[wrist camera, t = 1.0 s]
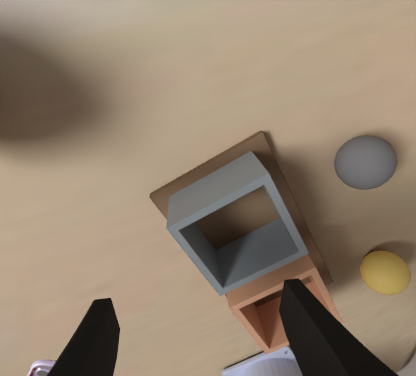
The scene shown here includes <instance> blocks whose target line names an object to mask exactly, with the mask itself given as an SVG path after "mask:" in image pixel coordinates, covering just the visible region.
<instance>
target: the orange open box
mask: <svg viewBox="0 0 416 376" xmlns="http://www.w3.org/2000/svg"><path fill="white" fill-rule="evenodd" d="M308 276H309V277H310V279H311V281H312V282H310V283H308V284H306V285H305V286H306V287H307V288H308V289H309V290H310V291H311V292H312V294H313V295H314V296H315V297H316V298H317V299H318V300H319V301H320V302H321V303H322V304H323V306H324V307H325V308H326V309H327V310H328V311H329V312H330V313H331V314H332V315H333V316H334V317H335V318H336V319H337V320H338V321H339V322H340V323H341V322H343V321H342V319H341V317H340V315H339V313H338V311H337V309H336V307H335V305H334V303H333V301H332V299H331V297H330V295H329V293H328V291H327V289H326V287H325V285H324V283H323V281H322V279H321V277H320V275H319V273H318V271H317V269H316V267H315V265H314V264H313V262H312V261H311V259H310V258H309V256H308V255H307V254H306V255H304V256H302V257H300V258H298V259H296V260H294V261H292V262H290V263H288V264H286V265H284V266H282V267H279V268H277V269H275V270H273V271H271V272H269V273H267V274H265V275H263V276H261V277H259V278H257V279H255V280H252V281H250V282H248V283H246V284H244V285H242V286H240V287H238V288H236V289H234V290H232V291H230V292H228V293H227V299H228V304H229V308H230V309H231V311H232V312H233V313H234V314H235V316H236V317H237V318H238V319H239V321H240V322H241V323H242V325H243V326H244V327H245V328H246V330H247V331H248V332H249V333H250V335H251V336H252V337H253V338H254V340H255V341H256V342H257V343H258V345H259V346H260V347H261V349H262V350H263V351H264V352H265V354H266V355H267V354H269V353H272V352H274V351H276V350H279V349H281V348H283V347H286V346H288V345H290V344H289V342H288V339H287V337H286V334H285V330H284V327H283V324H282V320H281V317H280V313H279V306H280V301H281V296H280V297H278V298H276V299H274V300H271V301H269V302H267V303H265V304H263V305H261V306H259V307H256V306H255V304H254V303H253V302H255V301H257V300H259V299H261V298H263V297H265V296H268V295H270V294H272V293H274V292H276V291H278V290H280V289H283V285H284V280H287V279H296V278H299V279H300V280H302V279H304V278H306V277H308Z"/></svg>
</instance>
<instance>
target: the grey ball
mask: <svg viewBox="0 0 416 376" xmlns="http://www.w3.org/2000/svg"><path fill="white" fill-rule="evenodd" d="M396 165H397V158H396V154H395V151H394V149H393V148H392V147H391V145H390V144H389V143H387V142H386V141H385V140H383V139H381V138H378V137H375V136H360V137H356V138H353V139H351V140H349V141H348V142H346V143H345V144H344V145H343V146H342V147H341V148H340V149H339V151H338V152H337V155H336V157H335V170H336V173H337V175H338V177H339V178H340V179H341V180H342V181H343V182H344V183H345V184H346V185H348V186H350V187H353V188H356V189H372V188H376V187H379V186H381V185H382V184H384V183H386V182H387V181H388V180H389V179H390V178H391V177H392V175H393V174H394V172H395V169H396Z"/></svg>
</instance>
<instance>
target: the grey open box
mask: <svg viewBox="0 0 416 376" xmlns="http://www.w3.org/2000/svg"><path fill="white" fill-rule="evenodd" d="M261 186H262V188H263V190H264V192H265V194H266V196H267V198H268V199H269V201H270V203H271V205H272V207H273V209H274V211H275V213H276V215H277V217H278V219H276V220H274V221H272V222H270V223H269V224H267V225H265V226H263V227H261V228H259V229H257V230H255V231H253V232H251V233H249V234H247V235H245V236H243V237H241V238H239V239H237V240H235V241H233V242H231V243H229V244H227V245H225V246H223V247H222V248H220V249H218V250H215V248H214V247H213V246H212V244H211V243H210V241H209V240H208V239H207V237H206V236H205V234H204V233H203V232H202V230H201V229H200V227H199V226H198V225H197V223H196V222H195V221H197V220H199V219H201V218H203V217H205V216H206V215H208V214H210V213H212V212H214V211H216V210H218V209H219V208H221V207H223V206H225V205H227V204H229V203H231V202H233V201H234V200H236V199H238V198H240V197H242V196H244V195H246V194H247V193H249V192H251V191H253V190H255V189H257V188H259V187H261ZM166 229H167V230H168V231H169V232H170V234H171V235H172V236H173V237H174V239H175V240H176V241H177V242H178V244H179V245H180V246H181V248H182V249H183V250H184V251H185V253H186V254H187V255H188V256H189V258H190V259H191V260H192V261H193V263H194V264H195V265H196V266H197V268H198V269H199V270H200V271H201V273H202V274H203V275H204V277H205V278H206V279H207V280H208V282H209V283H210V284H211V285H212V287H213V288H214V289H215V290H216V292H217V293H218V294H219V295H220V296H221V295H223V294H225V293H228V292H230V291H232V290H234V289H236V288H238V287H240V286H242V285H244V284H246V283H248V282H250V281H252V280H255V279H257V278H259V277H261V276H263V275H265V274H267V273H269V272H271V271H273V270H275V269H277V268H279V267H282V266H284V265H286V264H288V263H290V262H292V261H294V260H296V259H298V258H300V257H302V256H304V255H306V254H309V253H308V251H307V249H306V247H305V245H304V243H303V241H302V239H301V237H300V235H299V232H298V230H297V228H296V226H295V224H294V222H293V220H292V218H291V216H290V214H289V212H288V210H287V208H286V206H285V204H284V202H283V200H282V198H281V196H280V194H279V192H278V190H277V188H276V186H275V184H274V182H273V180H272V178H271V176H270V174H269V173H268V171H267V170H266V169H265V167H264V166H263V165H262V164H261V162H260V161H259V160H258V159H257V157H256V156H255V155H254V154H253V152H252V151H250V152H248V153H246V154H244V155H243V156H241V157H239V158H237V159H236V160H234V161H232V162H230V163H228V164H227V165H225V166H223V167H221V168H219V169H218V170H216V171H214V172H212V173H210V174H209V175H207V176H205V177H203V178H202V179H200V180H198V181H196V182H194V183H193V184H191V185H189V186H187V187H185V188H184V189H182V190H180V191H178V192H177V193H175V194H173V195H171V196H169V204H168V215H167V227H166Z"/></svg>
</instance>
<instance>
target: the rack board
mask: <svg viewBox="0 0 416 376" xmlns="http://www.w3.org/2000/svg"><path fill="white" fill-rule="evenodd" d="M250 151H252V152H253V154H254V155H255V156H256V157H257V159H258V160H259V161H260V162H261V164H262V165H263V166H264V167H265V169H266V170H267V171H268V173H269V174H270V176H271V178H272V180H273V182H274V184H275V186H276V188H277V190H278V192H279V194H280V196H281V198H282V200H283V202H284V204H285V206H286V208H287V210H288V212H289V214H290V216H291V218H292V220H293V222H294V224H295V226H296V228H297V230H298V232H299V235H300V237H301V239H302V241H303V243H304V245H305V247H306V249H307V251H308V253H309V254H307V255H308V256H309V258H310V259H311V261H312V262H313V264H314V265H315V267H316V269H317V271H318V273H319V275H320V277H321V279H322V281H323V283H324V285H327V284H330V283H332V282H333V280H332V278H331V276H330V274H329V272H328V270H327V268H326V265H325V263H324V261H323V259H322V257H321V255H320V253H319V251H318V249H317V246H316V244H315V242H314V240H313V238H312V236H311V234H310V232H309V229H308V227H307V225H306V223H305V221H304V219H303V217H302V215H301V213H300V210H299V208H298V206H297V204H296V202H295V200H294V198H293V196H292V193H291V191H290V189H289V187H288V185H287V183H286V181H285V179H284V177H283V174H282V172H281V170H280V168H279V166H278V164H277V162H276V160H275V157H274V155H273V153H272V151H271V149H270V147H269V145H268V143H267V141H266V138H265V136H264V134H263V133H262V132H261V131H259V132H258V133H256V134H254V135H252V136H250V137H249V138H247V139H245V140H243V141H242V142H240V143H238V144H236V145H235V146H233V147H231V148H229V149H228V150H226V151H224V152H222V153H221V154H219V155H217V156H215V157H214V158H212V159H210V160H208V161H206V162H205V163H203V164H201V165H199V166H198V167H196V168H194V169H192V170H191V171H189V172H187V173H185V174H184V175H182V176H180V177H178V178H177V179H175V180H173V181H171V182H170V183H168V184H166V185H164V186H162V187H161V188H159V189H157V190H155V191H154V192H152V193H150V199H151V200H152V201H153V202H154V204H155V205H156V206H157V208H158V209H159V210H160V211H161V213H162V214H163V215H164V217H165V218H166V219H167V215H168V204H169V196H171V195H173V194H175V193H177V192H178V191H180V190H182V189H184V188H185V187H187V186H189V185H191V184H193V183H194V182H196V181H198V180H200V179H202V178H203V177H205V176H207V175H209V174H210V173H212V172H214V171H216V170H218V169H219V168H221V167H223V166H225V165H227V164H228V163H230V162H232V161H234V160H236V159H237V158H239V157H241V156H243V155H244V154H246V153H248V152H250ZM276 219H278V217H277V215H276V213H275V211H274V209H273V207H272V205H271V203H270V201H269V199H268V198H267V196H266V194H265V192H264V190H263V188H262V186H261V187H259V188H257V189H255V190H253V191H251V192H249V193H247V194H246V195H244V196H242V197H240V198H238V199H236V200H234V201H233V202H231V203H229V204H227V205H225V206H223V207H221V208H219V209H218V210H216V211H214V212H212V213H210V214H208V215H206V216H205V217H203V218H201V219H199V220H197V221H195V222H196V223H197V225H198V226H199V227H200V229H201V230H202V232H203V233H204V234H205V236H206V237H207V239H208V240H209V241H210V243H211V244H212V246H213V247H214V248H215V250H218V249H220V248H222V247H223V246H225V245H227V244H229V243H231V242H233V241H235V240H237V239H239V238H241V237H243V236H245V235H247V234H249V233H251V232H253V231H255V230H257V229H259V228H261V227H263V226H265V225H267V224H269V223H270V222H272V221H274V220H276ZM301 281H302V282H303V284H304V285H306V284H308V283H310V282H312V281H311V279H310V277H309V276H308V277H306V278H304V279H302V280H301ZM282 290H283V289H280V290H278V291H276V292H274V293H272V294H270V295H268V296H265V297H263V298H261V299H259V300H257V301H255V302H253V303H254V304H255V306H256V307H259V306H261V305H263V304H265V303H267V302H269V301H271V300H274V299H276V298H278V297H280V296H282ZM225 295H226V297H227V293H225Z"/></svg>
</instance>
